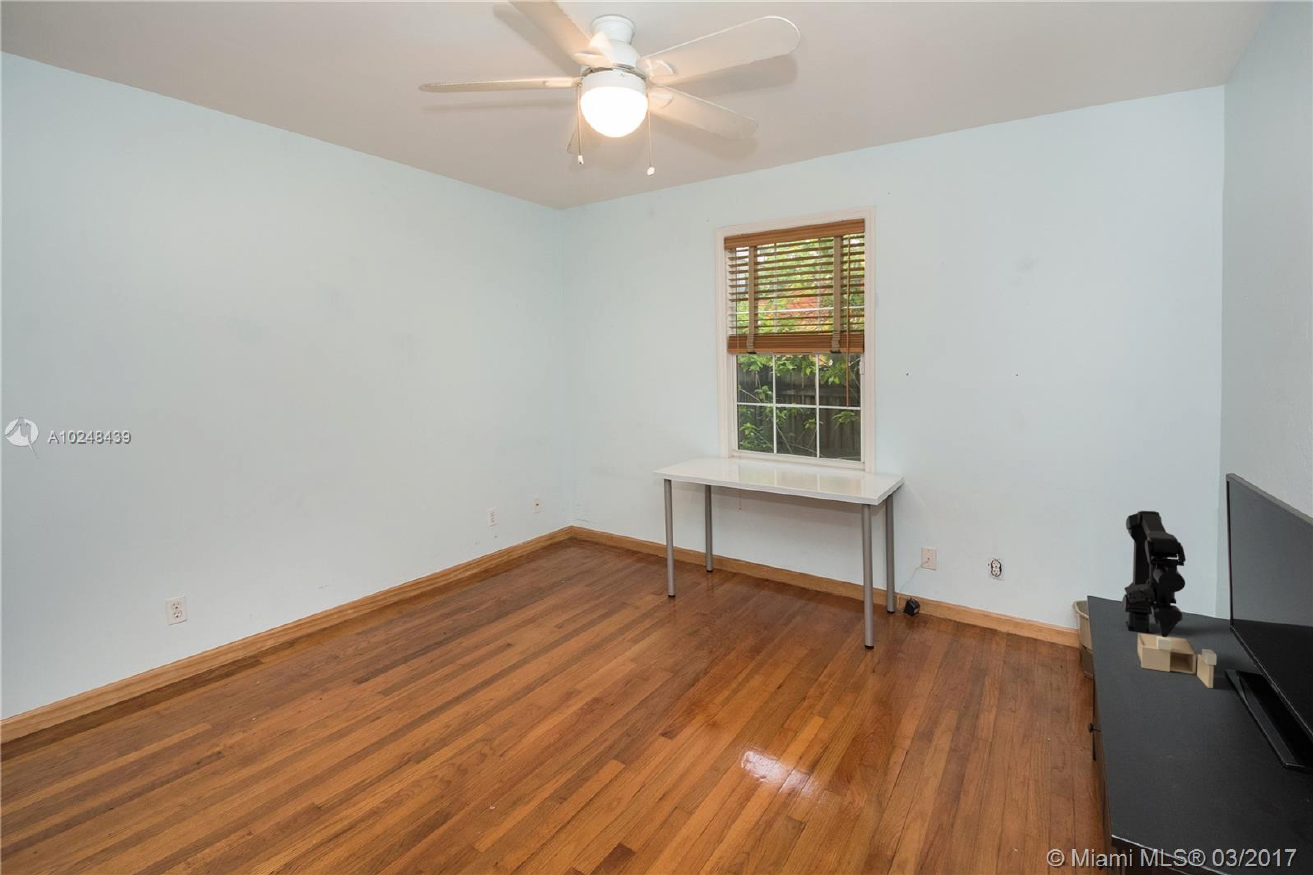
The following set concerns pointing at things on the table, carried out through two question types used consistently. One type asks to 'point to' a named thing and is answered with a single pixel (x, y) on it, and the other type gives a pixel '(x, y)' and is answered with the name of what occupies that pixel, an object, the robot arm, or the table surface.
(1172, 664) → the carton
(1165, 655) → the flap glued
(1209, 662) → the flap open
